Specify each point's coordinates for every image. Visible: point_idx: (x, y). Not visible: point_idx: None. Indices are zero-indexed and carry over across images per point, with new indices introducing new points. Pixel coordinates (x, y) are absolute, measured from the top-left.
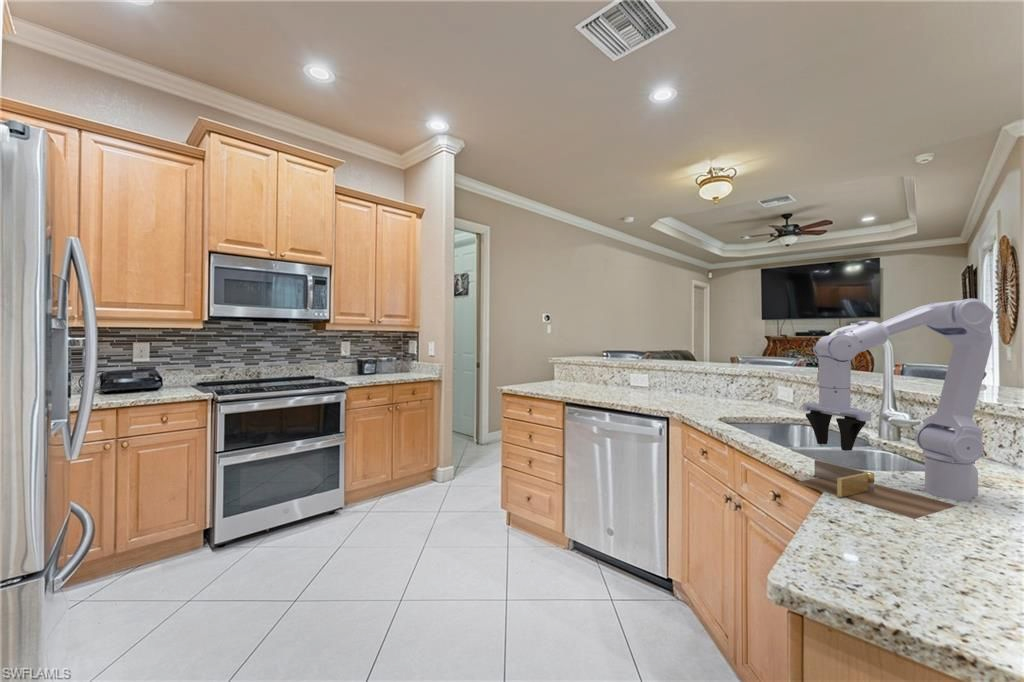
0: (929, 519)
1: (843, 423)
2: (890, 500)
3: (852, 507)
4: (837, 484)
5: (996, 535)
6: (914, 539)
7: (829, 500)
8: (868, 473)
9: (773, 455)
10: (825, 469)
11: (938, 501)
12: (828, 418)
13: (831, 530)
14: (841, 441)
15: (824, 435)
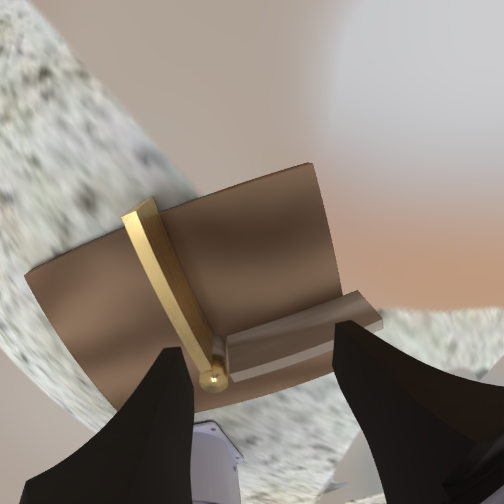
0: None
1: (48, 490)
2: (134, 333)
3: (120, 210)
4: (141, 205)
5: (29, 364)
6: None
7: (177, 183)
8: (206, 377)
9: (492, 317)
10: (338, 319)
11: None
12: (396, 502)
13: (15, 48)
14: (162, 379)
15: (355, 390)
